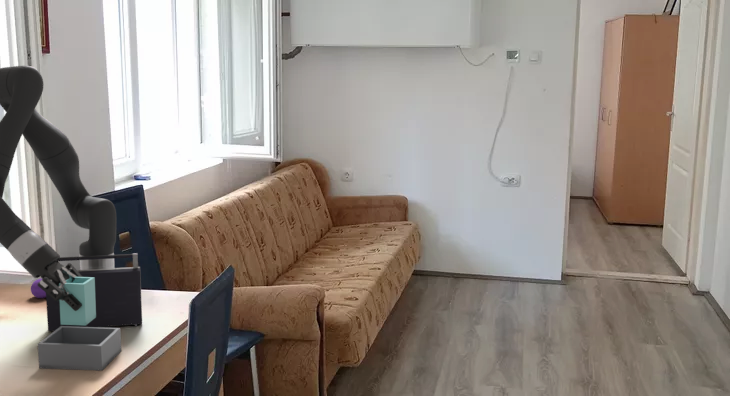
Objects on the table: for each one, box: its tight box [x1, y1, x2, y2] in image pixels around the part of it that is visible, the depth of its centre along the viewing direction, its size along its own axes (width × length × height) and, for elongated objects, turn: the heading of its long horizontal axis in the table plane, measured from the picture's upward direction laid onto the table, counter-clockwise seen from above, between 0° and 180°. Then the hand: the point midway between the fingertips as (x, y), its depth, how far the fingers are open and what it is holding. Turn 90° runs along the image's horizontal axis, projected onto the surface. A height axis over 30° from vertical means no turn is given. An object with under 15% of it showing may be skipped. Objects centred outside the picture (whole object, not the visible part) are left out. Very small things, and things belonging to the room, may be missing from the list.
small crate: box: [59, 277, 96, 326], centre depth 174 cm, size 6×6×10 cm
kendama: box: [30, 278, 46, 299], centre depth 225 cm, size 6×6×20 cm
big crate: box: [37, 326, 122, 371], centre depth 177 cm, size 15×12×6 cm
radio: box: [45, 252, 143, 332], centre depth 198 cm, size 24×5×20 cm, turn 106°
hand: (85, 303), depth 175 cm, fingers closed on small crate, 6 cm apart
